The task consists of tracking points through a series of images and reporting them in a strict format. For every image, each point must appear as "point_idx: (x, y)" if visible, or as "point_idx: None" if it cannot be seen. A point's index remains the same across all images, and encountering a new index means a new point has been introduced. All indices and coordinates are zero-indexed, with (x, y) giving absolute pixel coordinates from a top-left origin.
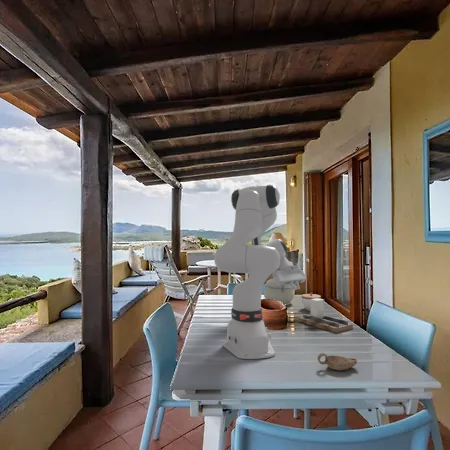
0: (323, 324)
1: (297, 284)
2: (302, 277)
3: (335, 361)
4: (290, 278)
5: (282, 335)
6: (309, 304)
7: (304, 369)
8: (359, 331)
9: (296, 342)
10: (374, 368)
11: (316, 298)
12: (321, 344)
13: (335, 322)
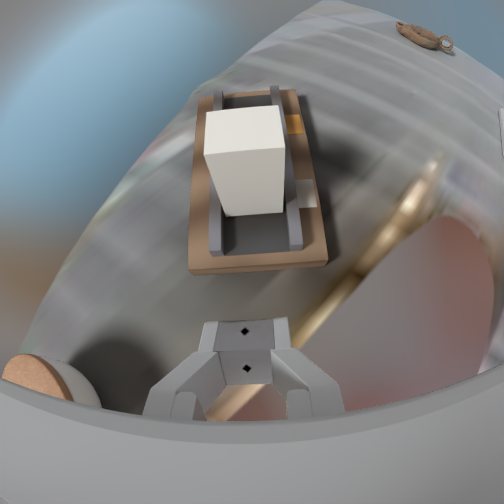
0: (302, 128)
1: (202, 368)
2: (4, 402)
3: (426, 38)
4: (346, 458)
5: (466, 170)
6: (89, 392)
7: (466, 66)
8: (215, 87)
9: (448, 118)
10: (371, 21)
11: (220, 148)
12: (398, 82)
13: (274, 94)
